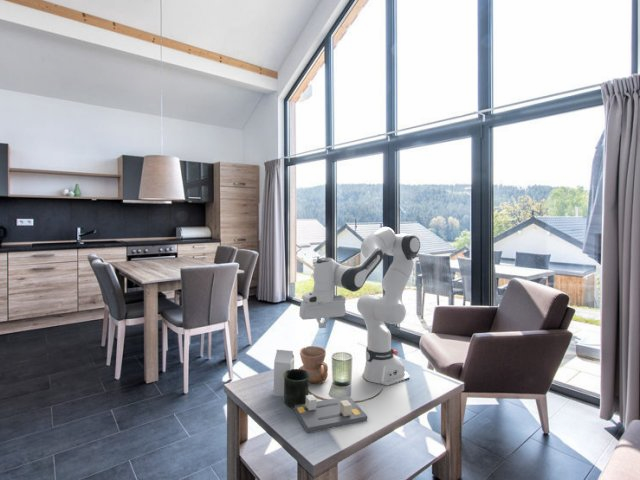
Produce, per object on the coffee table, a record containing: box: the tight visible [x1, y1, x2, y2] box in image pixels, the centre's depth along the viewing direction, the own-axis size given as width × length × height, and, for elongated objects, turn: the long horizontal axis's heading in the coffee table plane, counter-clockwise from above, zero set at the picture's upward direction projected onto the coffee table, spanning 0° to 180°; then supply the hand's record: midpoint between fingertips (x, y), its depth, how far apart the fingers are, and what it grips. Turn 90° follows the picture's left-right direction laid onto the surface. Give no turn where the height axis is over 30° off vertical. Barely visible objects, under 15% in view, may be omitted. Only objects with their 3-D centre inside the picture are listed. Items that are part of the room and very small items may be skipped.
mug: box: [283, 368, 310, 409], centre depth 156 cm, size 11×15×12 cm
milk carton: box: [273, 348, 295, 398], centre depth 162 cm, size 7×7×19 cm
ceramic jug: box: [298, 345, 329, 385], centre depth 175 cm, size 18×14×14 cm
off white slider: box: [306, 394, 317, 410], centre depth 147 cm, size 3×4×4 cm
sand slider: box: [340, 400, 352, 416], centre depth 144 cm, size 3×4×4 cm
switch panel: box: [293, 395, 368, 434], centre depth 146 cm, size 24×16×2 cm, turn 111°
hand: (322, 327), depth 161 cm, fingers closed
